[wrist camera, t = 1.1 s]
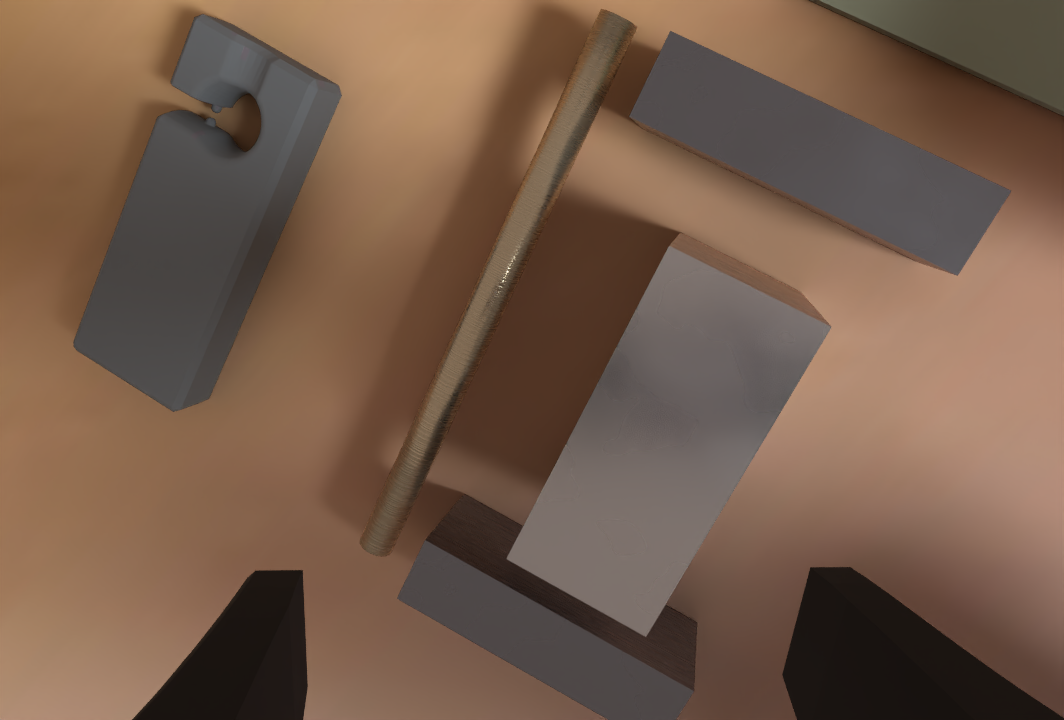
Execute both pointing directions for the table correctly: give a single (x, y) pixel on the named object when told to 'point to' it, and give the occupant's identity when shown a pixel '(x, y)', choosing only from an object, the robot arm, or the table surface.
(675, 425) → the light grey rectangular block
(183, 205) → the bracket
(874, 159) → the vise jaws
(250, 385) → the table surface
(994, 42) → the mat
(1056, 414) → the table surface
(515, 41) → the table surface
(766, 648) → the table surface
